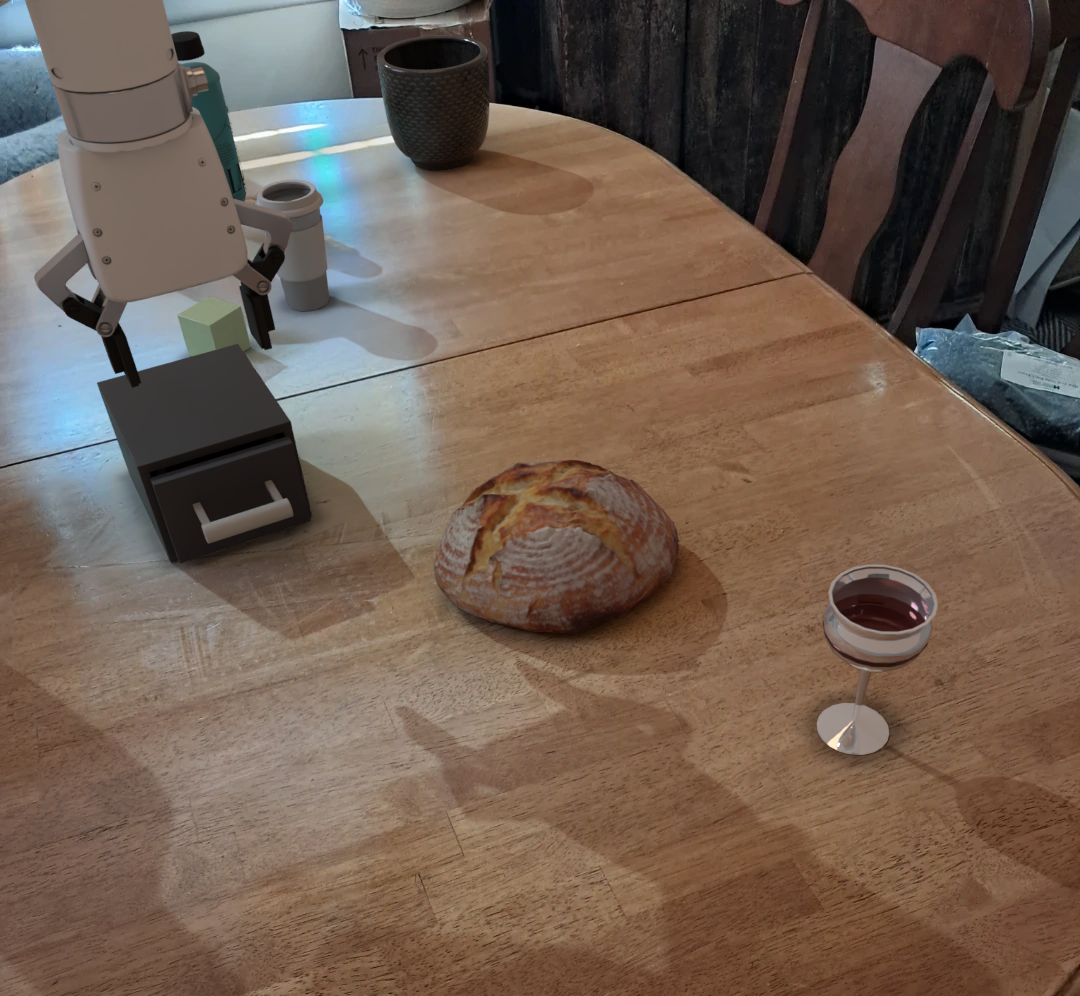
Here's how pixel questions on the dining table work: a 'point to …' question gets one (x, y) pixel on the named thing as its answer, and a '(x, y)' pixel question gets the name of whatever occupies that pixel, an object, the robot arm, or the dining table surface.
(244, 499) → the mini filing drawer
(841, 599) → the wineglass
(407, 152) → the planter
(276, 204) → the cup
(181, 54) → the beverage bottle
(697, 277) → the dining table surface
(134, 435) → the cabinet
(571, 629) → the bread
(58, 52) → the robot arm
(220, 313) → the block
